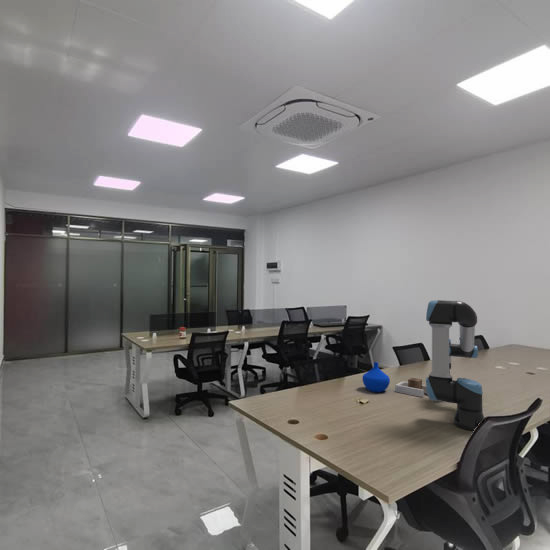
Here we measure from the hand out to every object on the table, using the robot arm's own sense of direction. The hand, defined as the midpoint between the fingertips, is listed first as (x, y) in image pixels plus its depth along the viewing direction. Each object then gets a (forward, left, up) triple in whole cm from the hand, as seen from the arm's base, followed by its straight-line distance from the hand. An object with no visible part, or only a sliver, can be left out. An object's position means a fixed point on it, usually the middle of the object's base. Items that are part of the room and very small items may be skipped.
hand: (444, 395), depth 230 cm
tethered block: (+10, 0, -2) cm, 10 cm away
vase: (+41, +13, -2) cm, 43 cm away
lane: (+20, 0, -2) cm, 20 cm away
